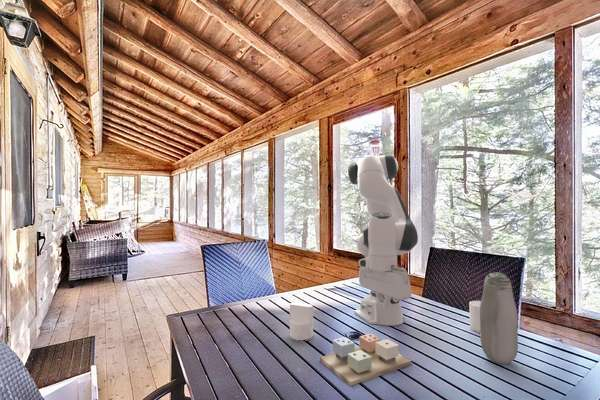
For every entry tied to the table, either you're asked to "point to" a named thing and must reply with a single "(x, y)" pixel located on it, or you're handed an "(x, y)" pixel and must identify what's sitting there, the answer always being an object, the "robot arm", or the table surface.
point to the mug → (475, 315)
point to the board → (352, 377)
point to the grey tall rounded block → (498, 319)
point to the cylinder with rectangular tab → (301, 321)
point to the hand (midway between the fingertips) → (383, 307)
